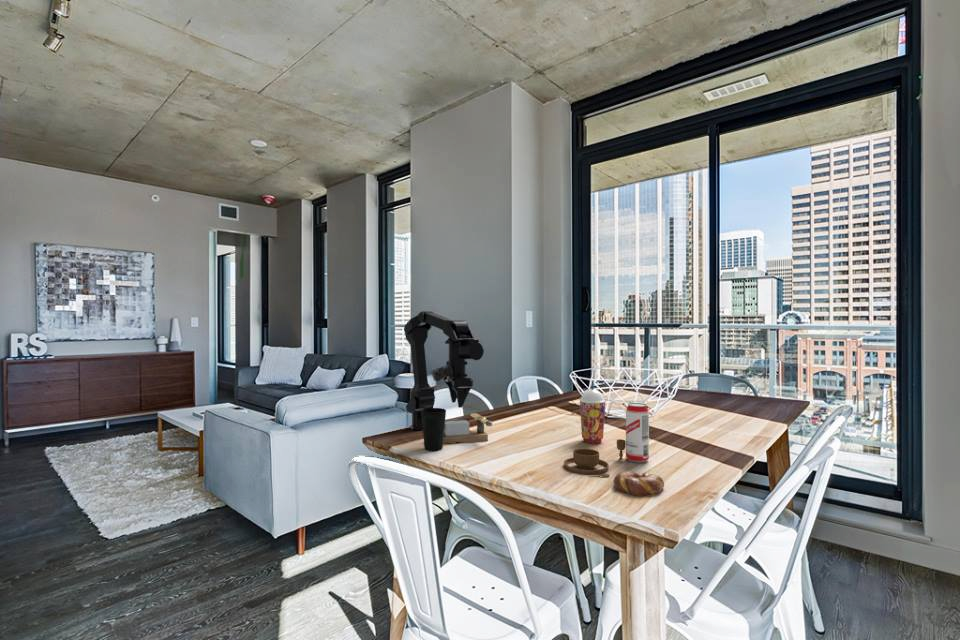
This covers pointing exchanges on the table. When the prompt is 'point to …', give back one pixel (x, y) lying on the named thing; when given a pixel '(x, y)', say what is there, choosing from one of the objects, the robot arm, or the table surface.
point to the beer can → (637, 432)
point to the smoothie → (592, 415)
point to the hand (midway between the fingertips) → (456, 404)
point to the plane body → (472, 437)
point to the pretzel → (638, 483)
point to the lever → (482, 419)
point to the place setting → (591, 460)
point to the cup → (433, 428)
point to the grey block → (456, 428)
